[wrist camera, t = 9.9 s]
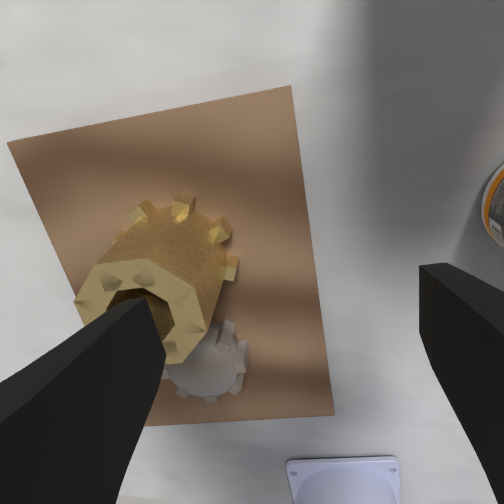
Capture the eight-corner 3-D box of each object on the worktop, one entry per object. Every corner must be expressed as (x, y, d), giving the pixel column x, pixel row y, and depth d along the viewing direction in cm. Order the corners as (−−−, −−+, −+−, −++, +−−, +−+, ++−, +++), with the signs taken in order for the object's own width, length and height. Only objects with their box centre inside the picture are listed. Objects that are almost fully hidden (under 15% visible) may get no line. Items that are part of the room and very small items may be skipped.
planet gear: (247, 293, 21) (232, 370, 16) (143, 304, 22) (96, 381, 17) (223, 186, 19) (196, 235, 13) (106, 204, 20) (37, 257, 14)
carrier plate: (333, 405, 26) (339, 457, 22) (138, 417, 28) (117, 467, 24) (290, 85, 17) (290, 90, 14) (16, 139, 19) (-42, 155, 16)
